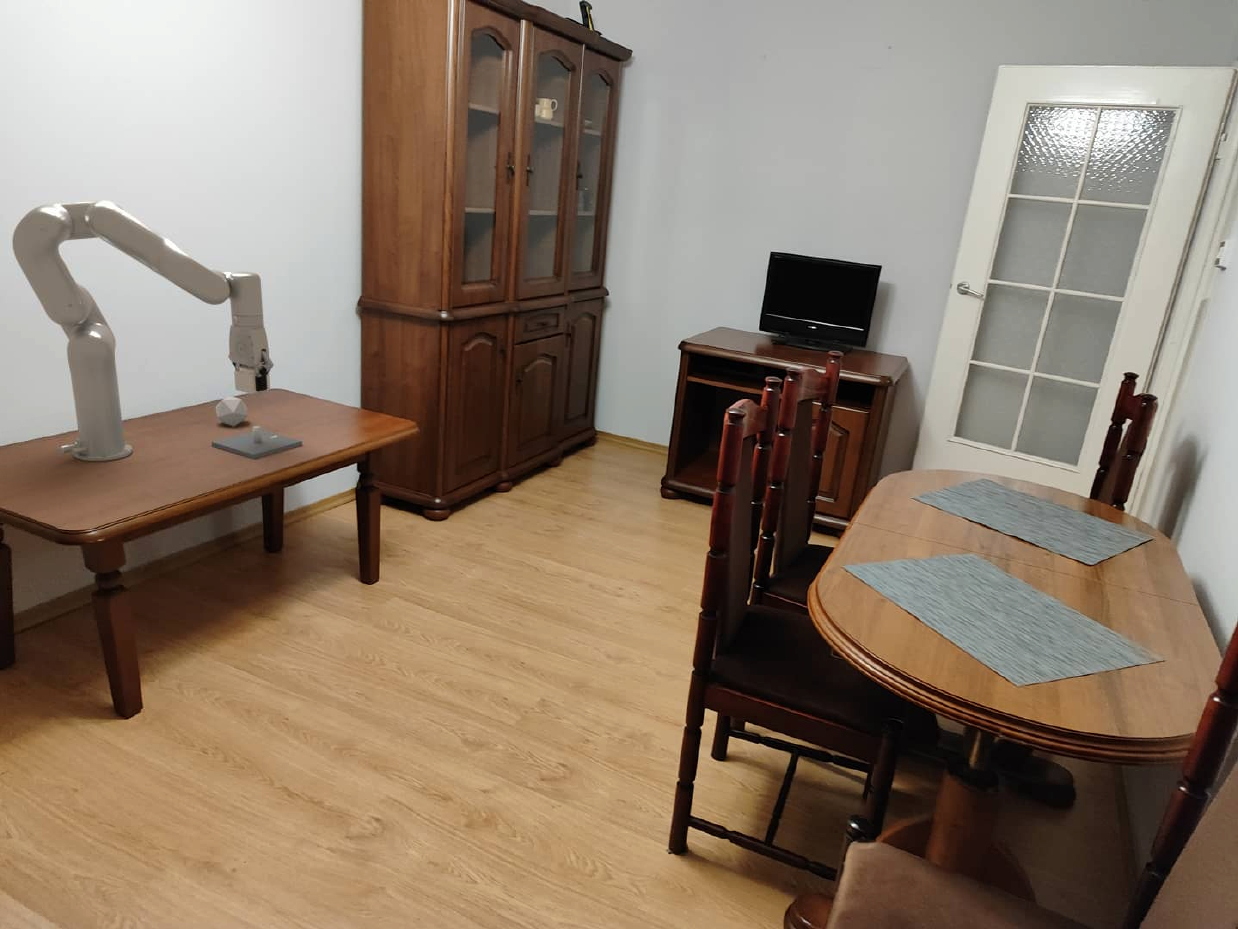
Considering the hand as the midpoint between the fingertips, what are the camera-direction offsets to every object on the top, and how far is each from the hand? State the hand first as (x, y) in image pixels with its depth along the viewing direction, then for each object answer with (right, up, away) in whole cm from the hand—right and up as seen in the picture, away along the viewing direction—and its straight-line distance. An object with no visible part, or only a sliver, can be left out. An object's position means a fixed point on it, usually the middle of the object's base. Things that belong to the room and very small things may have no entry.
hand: (252, 387), depth 218 cm
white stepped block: (0, 0, 0) cm, 1 cm away
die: (-15, -9, +21) cm, 28 cm away
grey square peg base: (-1, -15, +5) cm, 16 cm away
